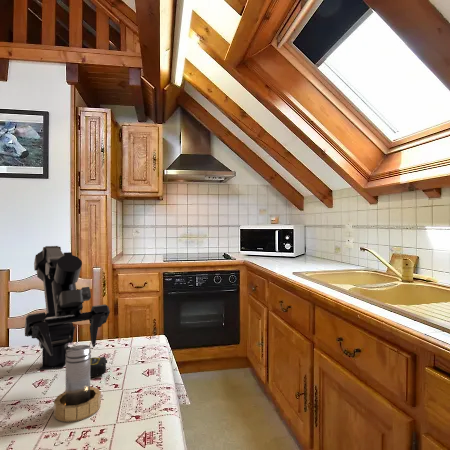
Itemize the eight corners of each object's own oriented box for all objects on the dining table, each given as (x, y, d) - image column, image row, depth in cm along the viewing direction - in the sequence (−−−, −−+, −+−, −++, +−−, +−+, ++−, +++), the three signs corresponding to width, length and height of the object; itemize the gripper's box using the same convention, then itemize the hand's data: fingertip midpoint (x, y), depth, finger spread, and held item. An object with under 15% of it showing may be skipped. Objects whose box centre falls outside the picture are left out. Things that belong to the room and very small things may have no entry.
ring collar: (46, 424, 65) (47, 409, 65) (63, 400, 74) (64, 388, 74) (93, 420, 66) (93, 406, 66) (104, 397, 75) (104, 385, 75)
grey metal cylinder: (59, 413, 68) (60, 352, 69) (74, 400, 73) (75, 344, 74) (81, 415, 67) (81, 353, 68) (95, 402, 72) (95, 345, 73)
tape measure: (106, 377, 86) (106, 363, 87) (78, 381, 84) (78, 367, 85) (107, 367, 93) (107, 354, 93) (82, 370, 91) (82, 357, 91)
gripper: (26, 280, 74) (30, 340, 65) (108, 274, 85) (121, 325, 76) (23, 307, 80) (26, 366, 71) (99, 298, 91) (111, 348, 82)
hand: (73, 350), depth 75 cm, fingers open, 9 cm apart
